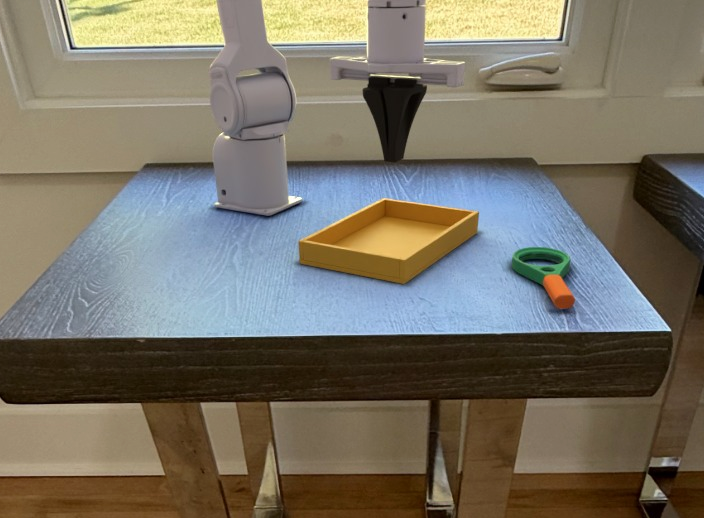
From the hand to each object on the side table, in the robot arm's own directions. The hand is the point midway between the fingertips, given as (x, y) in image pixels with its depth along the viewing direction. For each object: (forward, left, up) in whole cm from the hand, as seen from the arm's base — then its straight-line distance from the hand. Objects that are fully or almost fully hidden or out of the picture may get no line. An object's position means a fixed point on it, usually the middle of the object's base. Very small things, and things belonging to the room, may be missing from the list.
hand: (393, 160), depth 76 cm
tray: (0, 0, -9) cm, 9 cm away
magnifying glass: (+19, -2, -10) cm, 22 cm away
